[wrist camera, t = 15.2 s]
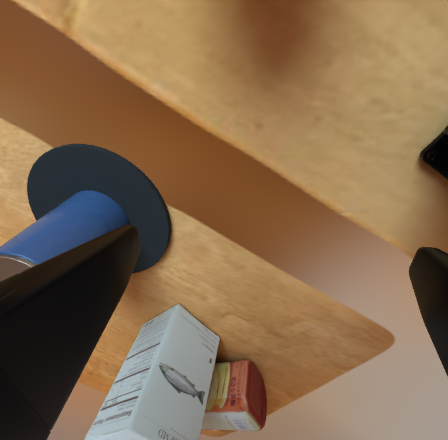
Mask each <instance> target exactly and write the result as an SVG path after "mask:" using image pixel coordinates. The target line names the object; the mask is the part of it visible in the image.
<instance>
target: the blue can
mask: <svg viewBox="0 0 448 440" xmlns="http://www.w3.org/2000/svg"><path fill="white" fill-rule="evenodd" d="M123 225H129V224H128V219H127V217H126V214H125V212H124V211H123V209H122V208H121V207H120V206H119V205H118V204H117V203H116V202H115V201H114V200H113V199H112V198H110V197H108V196H107V195H105V194H103V193H100V192H97V191H91V190H86V191H80V192H78V193H76V194H74V195H73V196H72V197H70V198H69V199H67V200H66V201H64V202H63V203H62V204H60V205H59V206H57V207H56V208H54V209H53V210H52V211H50V212H49V213H47V214H46V215H45V216H43V217H42V218H40V219H39V220H37V221H36V222H35V223H33V224H32V225H30V226H29V227H27V228H26V229H25V230H23V231H22V232H20V233H19V234H17V235H16V236H15V237H13V238H12V239H10V240H9V241H8V242H6V243H5V244H3V245H2V246H0V281H2V280H4V279H7V278H9V277H11V276H13V275H15V274H18V273H21V272H22V271H24V270H26V269H29V268H31V267H33V266H35V265H37V264H40V263H42V262H44V261H46V260H48V259H51V258H53V257H55V256H57V255H59V254H61V253H64V252H66V251H68V250H70V249H72V248H75V247H77V246H79V245H81V244H83V243H86V242H88V241H90V240H92V239H94V238H96V237H99V236H101V235H103V234H105V233H107V232H110V231H112V230H114V229H116V228H118V227H121V226H123Z"/></svg>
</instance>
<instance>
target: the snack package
mask: <svg viewBox="0 0 448 440" xmlns="http://www.w3.org/2000/svg"><path fill="white" fill-rule="evenodd" d="M266 412H267V398H266V390H265V385H264V381H263V379H262V376H261V374H260V372H259V371H258V369H257V368H256V366H255V365H254V364H253V362H251V361H250V360H248V359H244V360H240V361H233V362H224V363H215V365H214V370H213V374H212V379H211V384H210V389H209V394H208V399H207V404H206V409H205V414H204V418H203V423H202V428H201V430H241V431H259V430H261V429H262V428H263V427H264V425H265V421H266Z"/></svg>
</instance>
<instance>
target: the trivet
mask: <svg viewBox="0 0 448 440" xmlns="http://www.w3.org/2000/svg"><path fill="white" fill-rule="evenodd" d="M86 190H91V191H97V192H100V193H103V194H105V195H107V196H108V197H110V198H112V199H113V200H114V201H115V202H116V203H117V204H118V205H119V206H120V207H121V208H122V209H123V211H124V212H125V214H126V217H127V219H128V224H129V225H133V226H136V227H137V229H138V233H139V238H140V242H141V251H140V254H139V257H138V259H137V262H136V264H135V267H134V269H133V272H132V273H136V272H140V271H143V270H145V269H148V268H149V267H151V266H153V265H154V264H155V263H156V262H157V261H159V259H160V258H161V257H162V256H163V254H164V252H165V250H166V248H167V247H168V244H169V241H170V235H171V223H170V217H169V213H168V210H167V207H166V204H165V202H164V200H163V198H162V196H161V194H160V193H159V191H158V189H157V188H156V187H155V185H154V184H153V183H152V181H151V180H150V179H149V178H148V177H147V176H146V175H145V174H144V173H143V172H142V171H141V170H140V169H138V168H137V167H136V166H135V165H134V164H132V163H131V162H129V161H128V160H126V159H125V158H123V157H121V156H120V155H118V154H116V153H114V152H111V151H109V150H107V149H104V148H101V147H97V146H93V145H86V144H69V145H63V146H60V147H56V148H54V149H52V150H50V151H48V152H46V153H44V154H43V155H42V156H41V157H39V158H38V160H37V161H36V162H35V163H34V165H33V167H32V169H31V170H30V173H29V177H28V183H27V193H28V199H29V204H30V207H31V210H32V212H33V214H34V216H35V219H36V220H39V219H40V218H42V217H43V216H45V215H46V214H47V213H49V212H50V211H52V210H53V209H54V208H56V207H57V206H59V205H60V204H62V203H63V202H64V201H66V200H67V199H69V198H70V197H72V196H73V195H74V194H76V193H78V192H80V191H86Z"/></svg>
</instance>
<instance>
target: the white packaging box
mask: <svg viewBox="0 0 448 440" xmlns="http://www.w3.org/2000/svg"><path fill="white" fill-rule="evenodd" d="M219 341H220V337H219V336H217V335H216V334H214V333H213V332H212V331H210V330H209V329H208V328H207V327H205V326H204V325H203V324H202V323H201V322H199V321H198V320H197V319H196V318H195V317H193V316H192V315H191V314H190V313H189V312H188V311H186V310H185V309H184V308H183V307H182V306H181V305H180V304H177V305H175V306H173V307H172V308H170V309H168V310H167V311H165V312H163V313H161V314H160V315H158V316H156V317H154V318H153V319H151V320H149V321H148V322H146V323H144V324H143V326H142V328H141V330H140V332H139V334H138V336H137V338H136V340H135V341H134V343H133V345H132V347H131V349H130V351H129V353H128V355H127V357H126V359H125V361H124V363H123V365H122V367H121V369H120V371H119V373H118V375H117V377H116V379H115V381H114V383H113V385H112V387H111V389H110V391H109V393H108V395H107V397H106V399H105V401H104V403H103V405H102V407H101V409H100V411H99V413H98V415H97V417H96V419H95V421H94V423H93V424H92V426H91V428H90V430H89V432H88V434H87V435H86V437H85V440H199V437H200V433H201V428H202V423H203V418H204V414H205V409H206V404H207V399H208V394H209V389H210V384H211V379H212V374H213V370H214V365H215V360H216V355H217V350H218V345H219Z"/></svg>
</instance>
